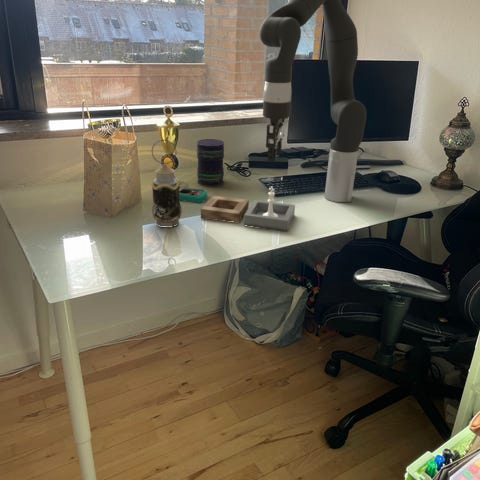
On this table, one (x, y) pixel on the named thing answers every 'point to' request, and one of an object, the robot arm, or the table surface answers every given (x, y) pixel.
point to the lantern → (166, 195)
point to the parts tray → (274, 223)
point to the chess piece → (270, 204)
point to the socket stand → (225, 208)
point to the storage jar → (210, 162)
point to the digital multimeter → (193, 195)
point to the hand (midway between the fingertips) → (274, 157)
